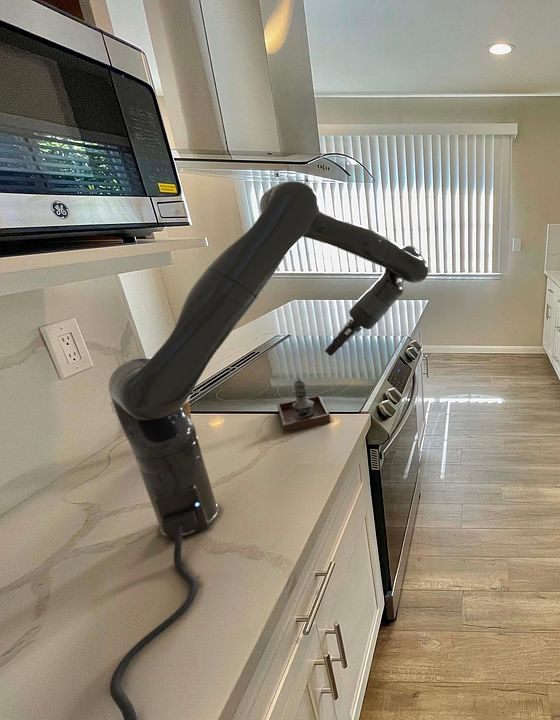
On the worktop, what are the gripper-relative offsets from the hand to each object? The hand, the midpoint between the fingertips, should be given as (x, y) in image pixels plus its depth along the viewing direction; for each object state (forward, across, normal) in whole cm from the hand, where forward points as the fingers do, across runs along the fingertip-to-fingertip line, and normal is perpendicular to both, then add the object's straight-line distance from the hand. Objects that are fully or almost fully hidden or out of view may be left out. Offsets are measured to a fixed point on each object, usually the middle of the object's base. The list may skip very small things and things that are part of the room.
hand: (333, 348), depth 110 cm
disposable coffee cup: (+45, +10, -14) cm, 48 cm away
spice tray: (+23, 0, +7) cm, 24 cm away
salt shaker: (+23, 0, +7) cm, 24 cm away
